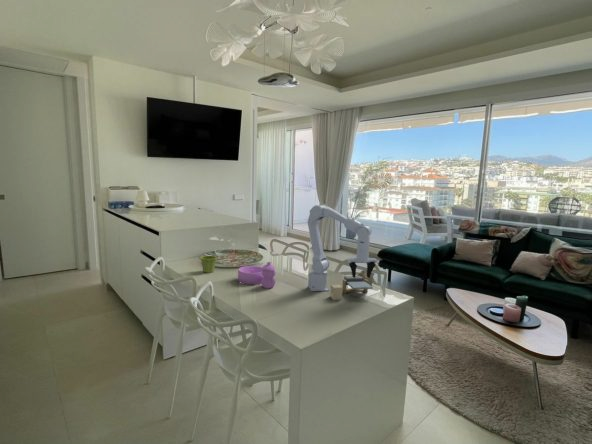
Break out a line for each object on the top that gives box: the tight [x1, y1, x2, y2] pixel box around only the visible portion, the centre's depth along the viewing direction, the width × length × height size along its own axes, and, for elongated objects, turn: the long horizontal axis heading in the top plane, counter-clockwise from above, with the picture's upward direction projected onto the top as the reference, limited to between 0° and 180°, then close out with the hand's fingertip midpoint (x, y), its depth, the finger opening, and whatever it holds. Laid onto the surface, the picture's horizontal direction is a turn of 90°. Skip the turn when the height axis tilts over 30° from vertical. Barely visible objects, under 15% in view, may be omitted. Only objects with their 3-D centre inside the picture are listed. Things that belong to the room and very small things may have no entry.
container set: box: [237, 261, 277, 289], centre depth 175 cm, size 25×15×13 cm, turn 46°
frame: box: [341, 279, 369, 294], centre depth 168 cm, size 13×5×7 cm, turn 101°
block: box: [329, 284, 343, 301], centre depth 158 cm, size 4×4×6 cm
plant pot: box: [199, 255, 218, 274], centre depth 192 cm, size 9×9×9 cm
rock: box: [357, 269, 375, 287], centre depth 179 cm, size 12×7×10 cm, turn 122°
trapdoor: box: [343, 275, 373, 290], centre depth 164 cm, size 10×14×4 cm
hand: (361, 277), depth 160 cm, fingers open, 7 cm apart
